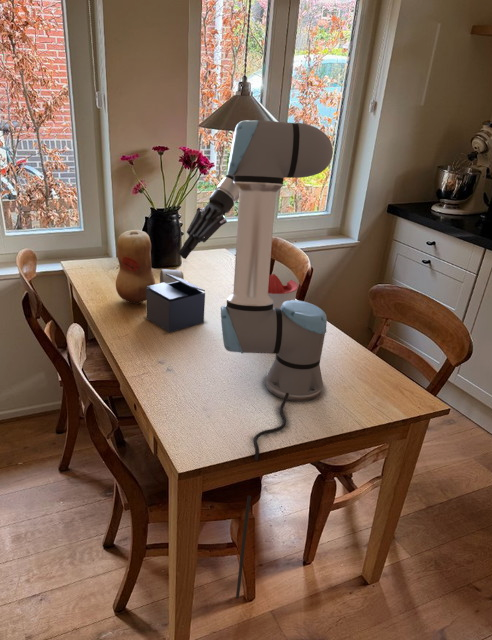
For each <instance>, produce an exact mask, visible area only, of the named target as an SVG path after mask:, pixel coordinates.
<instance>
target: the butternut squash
mask: <svg viewBox="0 0 492 640" xmlns="http://www.w3.org/2000/svg"><path fill="white" fill-rule="evenodd" d="M116 251H117V253H116V254H117V261H118V265H119V270H118V273H117V275H116V279H115V290H116V292H117V294H118V296H119V297H120V299H122V300H123V301H126V302H128V303H129V304H133V305H134V304H137V305H140V303H142V302H146V289H147V286H150V285H154V284H156V280H155V276H154V273H153V270H152V269H153V267H152V254H151V253H152V252H151V251H152V242H151V238H150V236H149V234H148V233H147V232H146V231H143V230H140V229H131V230H127V231H124V232H122V233H121V234H120V235H119V237H118V239H117V250H116Z"/></svg>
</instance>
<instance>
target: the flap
mask: <svg viewBox="0 0 492 640" xmlns="http://www.w3.org/2000/svg"><path fill="white" fill-rule="evenodd" d="M166 275H167V276H169V277H171V278H173V279H175V280H177V281H179V282H181V283H183V284H185V285H187V286H188V287H191V288H194V289H198V290H201V291H202V292H206V290H205V289H204V288H201V287H199V286H198V285H196V284H193V283H191V282H190V281H187V280H186V279H185V278H184V279H182V278H179V277H175V276H172V275H169V274H166Z"/></svg>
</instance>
